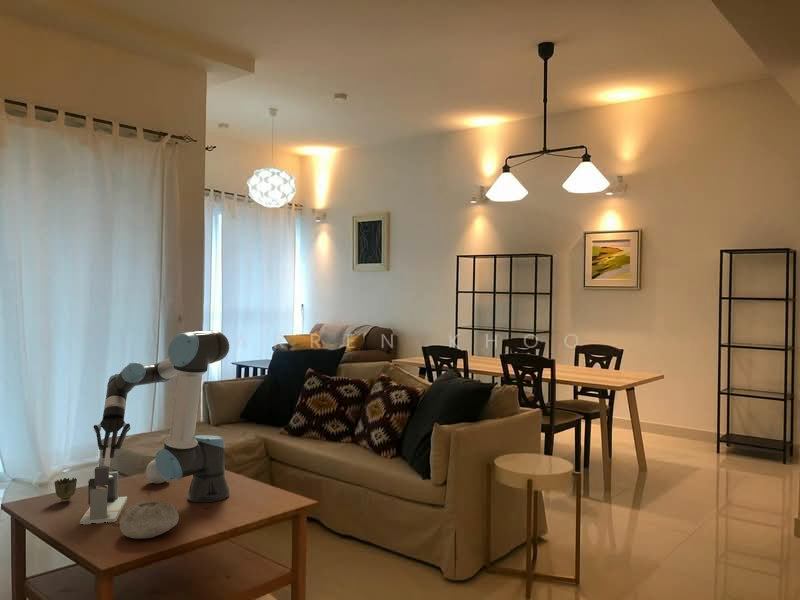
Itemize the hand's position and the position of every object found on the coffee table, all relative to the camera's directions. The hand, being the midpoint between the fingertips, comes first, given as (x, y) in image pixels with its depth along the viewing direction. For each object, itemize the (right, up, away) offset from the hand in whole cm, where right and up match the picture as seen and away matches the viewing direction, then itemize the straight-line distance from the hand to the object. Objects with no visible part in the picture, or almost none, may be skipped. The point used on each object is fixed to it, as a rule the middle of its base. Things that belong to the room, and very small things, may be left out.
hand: (106, 465), depth 231 cm
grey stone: (+25, -16, -23) cm, 38 cm away
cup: (-19, -16, +8) cm, 26 cm away
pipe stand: (0, -16, -2) cm, 16 cm away
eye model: (+7, -16, +32) cm, 36 cm away
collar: (+2, -11, -7) cm, 13 cm away
